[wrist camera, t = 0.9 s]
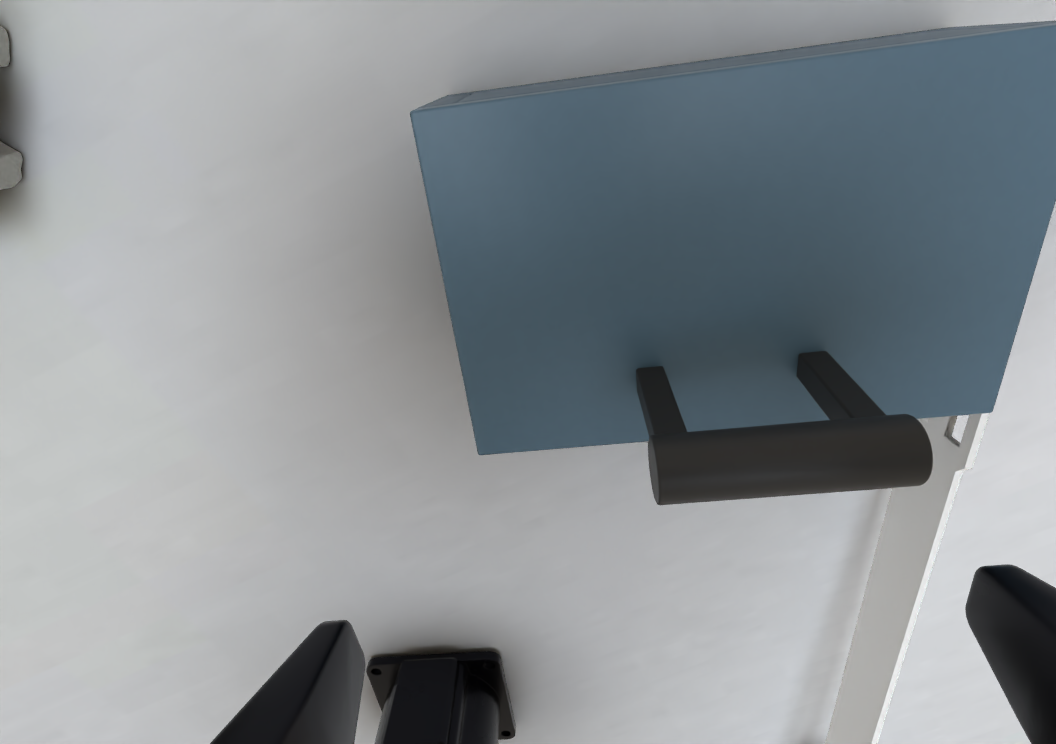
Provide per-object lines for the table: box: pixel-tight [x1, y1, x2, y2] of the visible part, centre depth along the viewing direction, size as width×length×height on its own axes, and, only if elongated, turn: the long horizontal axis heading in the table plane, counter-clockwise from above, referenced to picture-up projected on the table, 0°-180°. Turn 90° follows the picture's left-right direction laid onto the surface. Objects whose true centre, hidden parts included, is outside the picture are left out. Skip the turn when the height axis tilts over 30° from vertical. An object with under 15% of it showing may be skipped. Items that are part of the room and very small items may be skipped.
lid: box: [410, 23, 1056, 505], centre depth 12 cm, size 9×14×5 cm, turn 97°
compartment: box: [419, 21, 1056, 108], centre depth 16 cm, size 8×14×4 cm, turn 97°
